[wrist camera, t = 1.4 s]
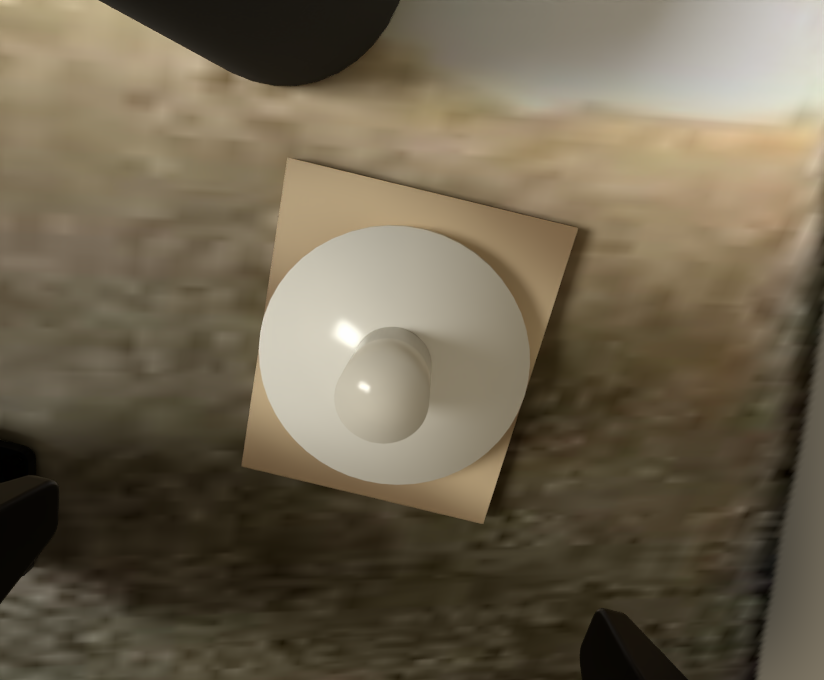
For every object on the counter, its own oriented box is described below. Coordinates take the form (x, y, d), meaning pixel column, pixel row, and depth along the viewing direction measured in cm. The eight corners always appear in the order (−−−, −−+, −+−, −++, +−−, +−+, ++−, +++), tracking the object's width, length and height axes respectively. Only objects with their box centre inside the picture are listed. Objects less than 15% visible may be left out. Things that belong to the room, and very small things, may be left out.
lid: (485, 498, 20) (494, 570, 16) (249, 440, 20) (203, 499, 16) (561, 262, 17) (594, 282, 14) (289, 194, 17) (244, 195, 14)
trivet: (482, 515, 21) (482, 524, 21) (246, 458, 21) (241, 466, 21) (573, 226, 18) (578, 228, 17) (292, 158, 18) (287, 157, 17)
